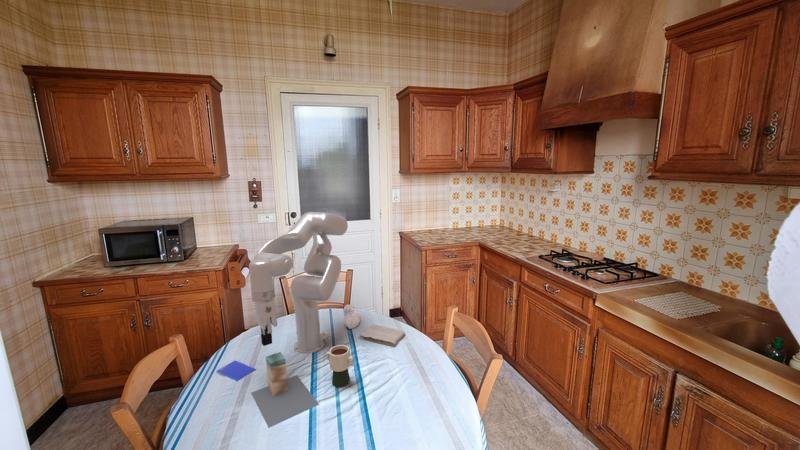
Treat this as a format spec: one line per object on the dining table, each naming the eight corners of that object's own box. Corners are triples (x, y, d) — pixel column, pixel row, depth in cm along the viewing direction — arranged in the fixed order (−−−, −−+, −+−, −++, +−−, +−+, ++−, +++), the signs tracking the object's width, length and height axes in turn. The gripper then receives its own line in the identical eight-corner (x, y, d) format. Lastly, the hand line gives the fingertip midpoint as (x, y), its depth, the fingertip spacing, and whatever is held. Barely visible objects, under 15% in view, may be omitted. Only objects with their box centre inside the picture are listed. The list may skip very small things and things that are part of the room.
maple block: (283, 382, 122) (280, 351, 120) (288, 389, 118) (285, 358, 116) (268, 388, 119) (265, 356, 117) (273, 396, 115) (270, 363, 113)
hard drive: (216, 370, 129) (237, 380, 123) (235, 359, 136) (256, 368, 130) (216, 374, 130) (237, 384, 124) (236, 363, 137) (256, 372, 131)
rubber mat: (296, 376, 127) (296, 374, 126) (319, 406, 111) (319, 404, 111) (251, 394, 117) (251, 392, 117) (268, 429, 101) (268, 427, 101)
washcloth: (371, 328, 163) (371, 322, 163) (406, 335, 156) (405, 329, 155) (358, 340, 153) (358, 333, 152) (394, 348, 145) (394, 342, 145)
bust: (358, 323, 172) (345, 305, 173) (368, 317, 169) (355, 298, 170) (345, 334, 161) (331, 314, 162) (355, 328, 158) (342, 307, 159)
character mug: (359, 381, 123) (358, 347, 121) (349, 393, 117) (347, 358, 114) (334, 374, 127) (332, 342, 125) (322, 385, 121) (320, 352, 119)
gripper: (281, 298, 115) (284, 349, 118) (267, 286, 127) (271, 333, 130) (257, 303, 110) (262, 356, 113) (246, 290, 122) (250, 339, 125)
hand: (267, 343), depth 121 cm, fingers closed
